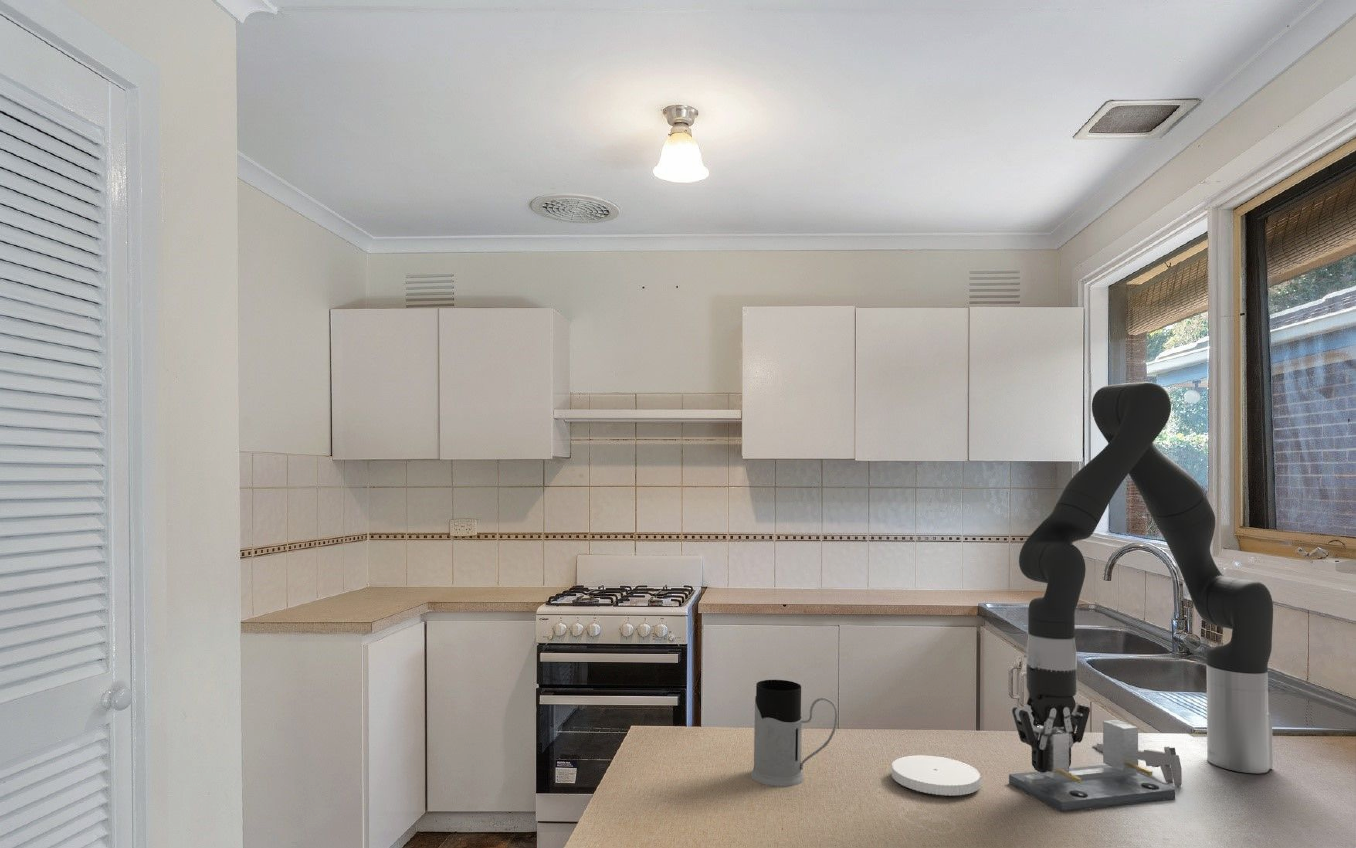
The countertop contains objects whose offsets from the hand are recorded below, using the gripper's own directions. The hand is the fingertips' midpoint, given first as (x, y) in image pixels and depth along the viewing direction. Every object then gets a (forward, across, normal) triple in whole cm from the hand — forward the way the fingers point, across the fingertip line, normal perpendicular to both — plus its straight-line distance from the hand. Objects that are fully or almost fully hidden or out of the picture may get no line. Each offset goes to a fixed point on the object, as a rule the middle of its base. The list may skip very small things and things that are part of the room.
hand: (1051, 769), depth 137 cm
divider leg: (+1, 0, +2) cm, 2 cm away
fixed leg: (+1, -14, +2) cm, 14 cm away
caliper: (+4, -23, -6) cm, 24 cm away
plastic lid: (+4, +17, -7) cm, 19 cm away
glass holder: (+3, +39, -14) cm, 42 cm away
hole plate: (+3, -6, +2) cm, 7 cm away
